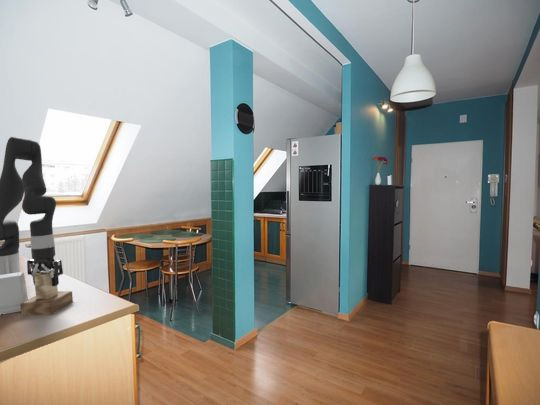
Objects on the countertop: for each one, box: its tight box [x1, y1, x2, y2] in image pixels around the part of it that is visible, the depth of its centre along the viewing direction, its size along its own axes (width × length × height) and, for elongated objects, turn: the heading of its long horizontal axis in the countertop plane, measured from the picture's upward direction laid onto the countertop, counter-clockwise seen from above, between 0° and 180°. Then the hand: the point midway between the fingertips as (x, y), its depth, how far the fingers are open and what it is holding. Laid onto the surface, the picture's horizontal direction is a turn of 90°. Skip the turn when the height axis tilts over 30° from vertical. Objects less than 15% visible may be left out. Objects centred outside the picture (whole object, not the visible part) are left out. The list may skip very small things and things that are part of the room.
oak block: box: [34, 271, 58, 299], centre depth 120 cm, size 5×5×10 cm
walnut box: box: [20, 290, 74, 316], centre depth 120 cm, size 12×12×5 cm
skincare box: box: [0, 271, 29, 316], centre depth 118 cm, size 8×6×15 cm
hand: (46, 285), depth 119 cm, fingers open, 8 cm apart
